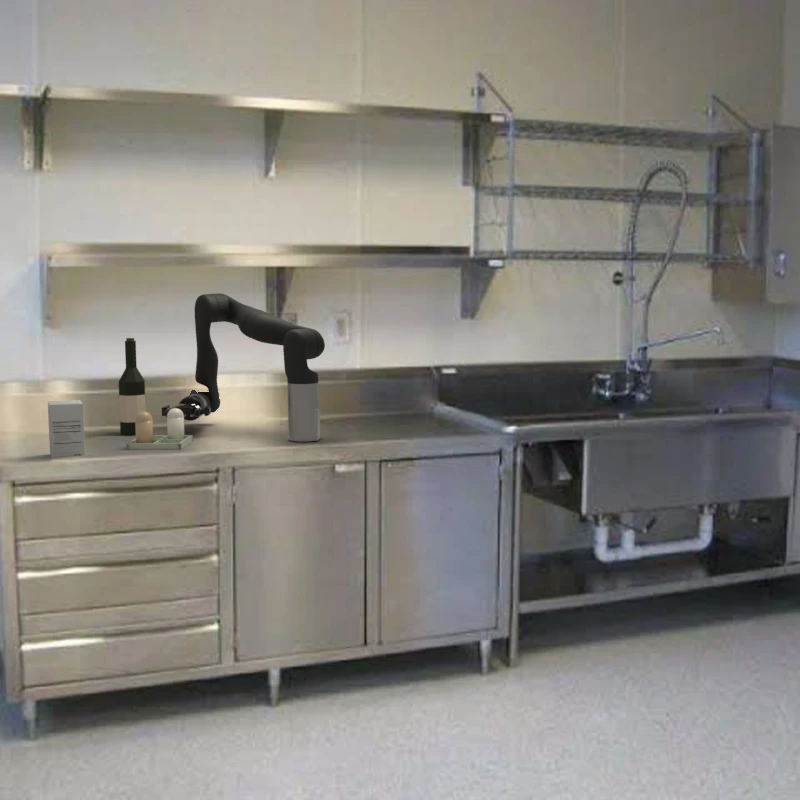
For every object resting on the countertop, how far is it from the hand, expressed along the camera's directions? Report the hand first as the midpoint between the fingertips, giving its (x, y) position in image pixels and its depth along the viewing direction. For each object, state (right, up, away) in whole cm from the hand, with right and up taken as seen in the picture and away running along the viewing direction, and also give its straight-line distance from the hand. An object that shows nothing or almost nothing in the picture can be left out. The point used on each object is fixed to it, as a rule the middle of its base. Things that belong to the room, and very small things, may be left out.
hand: (181, 413), depth 311 cm
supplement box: (-26, -11, -24) cm, 38 cm away
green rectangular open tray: (-4, -9, -10) cm, 14 cm away
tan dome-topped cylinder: (-8, -9, -14) cm, 18 cm away
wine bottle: (-18, -7, +15) cm, 24 cm away
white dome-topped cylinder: (0, -8, -7) cm, 11 cm away
